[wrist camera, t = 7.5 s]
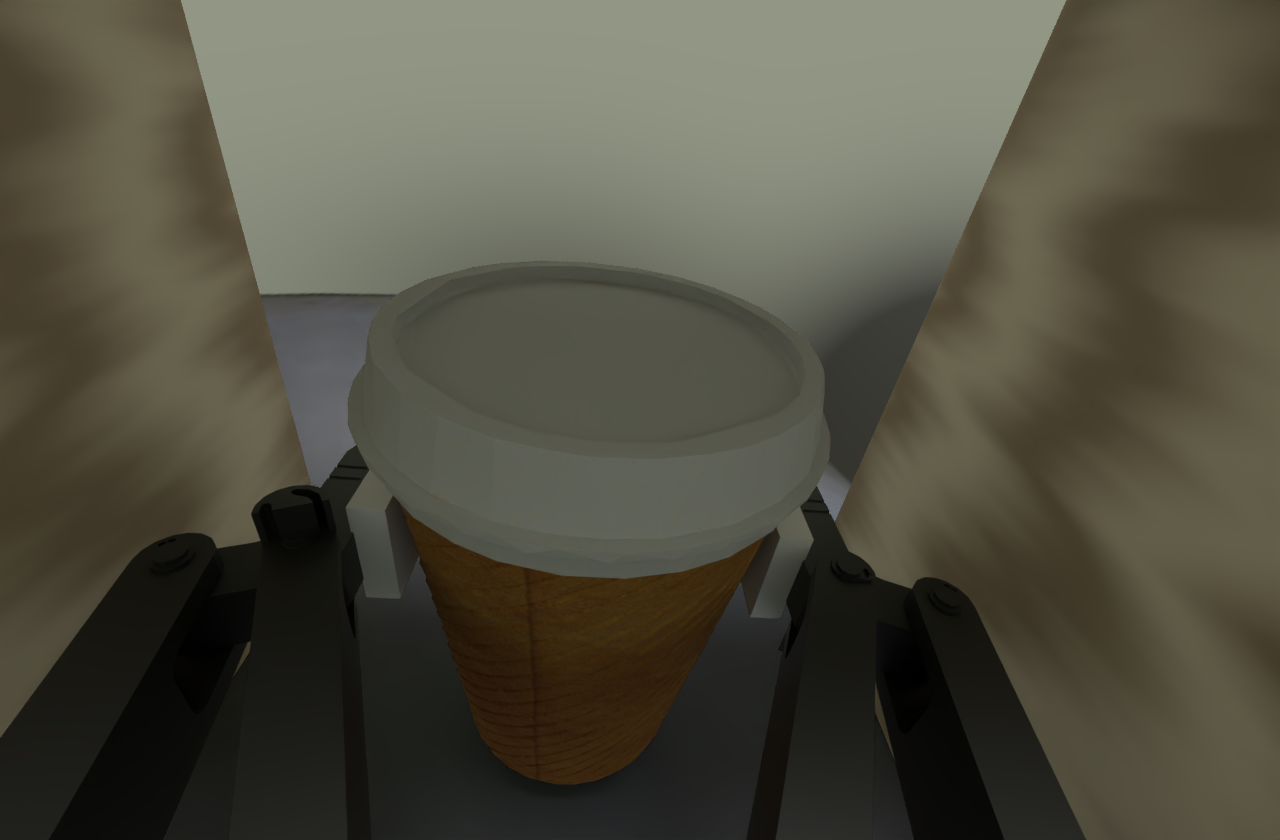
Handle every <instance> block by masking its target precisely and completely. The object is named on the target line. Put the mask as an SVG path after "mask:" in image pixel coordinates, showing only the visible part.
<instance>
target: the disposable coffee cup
mask: <svg viewBox="0 0 1280 840" xmlns="http://www.w3.org/2000/svg"><path fill="white" fill-rule="evenodd" d="M824 391H825V385H824V369H823V367H822V365H821V363H820V361H819V358H818V356H817V354H816V353H815V352H814V350H813V349H812V348H811V347H810V345H809V344H808V343H807V341H806V340H805V339H804V338H803V337H802V336H801V335H799V334H798V333H797V332H796V331H794V330H793V329H792V328H790V327H789V326H788V325H787V324H785V323H784V322H783V321H781V320H780V319H778V318H777V317H775V316H773V315H772V314H770V313H769V312H767V311H765V310H763V309H762V308H760V307H758V306H756V305H753V304H752V303H749V302H747V301H745V300H743V299H741V298H738V297H736V296H733V295H731V294H728V293H726V292H723V291H721V290H718V289H716V288H713V287H709V286H706V285H703V284H700V283H696V282H693V281H690V280H686V279H683V278H679V277H676V276H671V275H666V274H661V273H657V272H651V271H647V270H642V269H637V268H629V267H621V266H613V265H604V264H596V263H585V262H583V263H582V262H556V261H554V262H553V261H533V262H514V263H500V264H493V265H486V266H479V267H472V268H469V269H465V270H461V271H457V272H454V273H450V274H446V275H442V276H438V277H435V278H431V279H427V280H425V281H423V282H421V283H419V284H417V285H415V286H413V287H410V288H408V289H406V290H404V291H402V292H400V293H399V294H398V295H396V296H395V297H394V298H393V299H391V300H390V301H389V302H387V303H386V304H385V305H384V306H382V307H381V309H380V310H379V312H378V313H377V315H376V316H375V318H374V319H373V320H372V322H371V326H370V330H369V334H368V340H367V351H366V361H365V365H364V366H363V367H362V368H361V370H360V371H359V373H358V374H357V376H356V377H355V379H354V381H353V384H352V387H351V390H350V394H349V397H348V425H349V428H350V431H351V434H352V437H353V439H354V441H355V443H356V445H357V447H358V449H359V451H360V453H361V455H362V457H363V459H364V461H365V463H366V465H367V467H368V469H369V470H370V471H371V472H373V473H374V474H375V475H376V476H377V477H378V478H379V479H380V480H381V481H382V482H383V483H384V484H385V486H386V487H387V489H388V490H389V491H390V493H391V494H392V495H393V496H394V497H395V498H396V499H397V500H398V501H399V502H400V504H401V507H402V510H403V513H404V516H405V517H407V518H406V520H405V522H406V524H407V526H408V528H409V530H410V532H411V534H412V536H413V538H414V540H413V544H414V546H415V548H416V551H417V553H418V555H419V557H420V565H421V567H422V569H423V571H424V573H425V575H426V577H427V578H426V582H427V584H428V586H429V589H430V591H431V593H432V600H433V602H434V604H435V606H436V608H437V613H438V616H439V618H440V620H441V623H442V625H443V626H442V628H443V631H444V633H445V635H446V637H447V640H448V646H449V648H450V650H451V653H452V657H453V659H454V662H455V664H456V666H457V671H458V674H459V676H460V678H461V683H462V685H463V688H464V690H465V694H466V697H467V699H468V701H469V706H470V708H471V711H472V717H473V719H474V722H475V724H476V727H477V729H478V731H479V734H480V736H481V738H482V739H483V740H484V741H485V743H486V744H487V745H488V747H489V748H490V749H491V750H492V752H493V753H494V754H495V756H496V757H497V758H499V759H500V760H501V761H502V762H503V763H504V764H506V765H507V766H508V767H509V768H511V769H513V770H515V771H517V772H519V773H520V774H522V775H524V776H526V777H528V778H531V779H536V780H540V781H544V782H549V783H553V784H571V785H575V784H580V783H585V782H591V781H596V780H599V779H601V778H604V777H606V776H608V775H611V774H613V773H615V772H618V771H619V770H621V769H622V768H623V767H625V766H626V765H628V764H629V763H631V762H632V761H634V760H635V759H636V758H637V757H638V756H639V755H640V754H641V752H642V751H643V750H644V749H645V748H646V747H647V746H648V745H649V743H650V742H651V741H652V740H653V738H654V737H655V735H656V733H657V732H658V730H659V728H660V727H661V724H662V722H663V720H664V718H665V716H666V715H667V713H668V711H669V709H670V707H671V705H672V704H673V702H674V700H675V698H676V696H677V695H678V693H679V691H680V689H681V687H682V686H683V684H684V682H685V680H686V678H687V677H688V675H689V673H690V671H691V669H692V668H693V666H694V664H695V662H696V661H697V659H698V657H699V655H700V654H701V652H702V650H703V648H704V646H705V645H706V643H707V641H708V639H709V637H710V635H711V634H712V632H713V630H714V628H715V626H716V625H717V623H718V621H719V619H720V617H721V616H722V614H723V612H724V610H725V608H726V606H727V605H728V603H729V601H730V599H731V598H732V596H733V594H734V592H735V590H736V588H737V587H738V585H739V583H740V581H741V580H742V578H743V576H744V574H745V572H746V570H747V569H748V567H749V565H750V563H751V562H752V559H753V558H754V556H755V554H756V552H757V551H758V549H759V547H760V545H761V544H762V542H763V539H764V538H765V536H766V535H767V534H769V533H771V532H773V531H774V529H775V528H776V527H777V525H778V524H780V523H781V522H782V521H783V520H784V519H785V518H787V517H788V516H789V515H790V514H791V513H793V512H794V511H795V510H796V509H797V508H799V507H800V506H801V505H802V504H803V503H804V502H806V501H807V500H808V498H809V497H810V495H811V494H812V492H813V491H814V489H815V488H816V486H817V484H818V482H819V480H820V479H821V477H822V475H823V473H824V471H825V469H826V467H827V463H828V459H829V455H830V433H829V430H828V426H827V423H826V420H825V417H824V413H823V412H822V411H823V402H824Z"/></svg>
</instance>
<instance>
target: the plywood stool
mask: <svg viewBox="0 0 1280 840" xmlns="http://www.w3.org/2000/svg"><path fill="white" fill-rule="evenodd" d="M297 485H310V486H311V483H310V479H309V476H308V472H307V468H306V464H305V461H304V457H303V453H302V450H301V446H300V442H299V438H298V435H297V431H296V427H295V423H294V420H293V416H292V412H291V409H290V405H289V401H288V397H287V394H286V390H285V386H284V383H283V379H282V375H281V371H280V368H279V364H278V360H277V357H276V353H275V349H274V345H273V342H272V338H271V334H270V331H269V327H268V323H267V319H266V316H265V312H264V308H263V304H262V301H261V297H260V293H259V290H258V286H257V282H256V279H255V275H254V271H253V267H252V264H251V260H250V256H249V253H248V249H247V245H246V242H245V238H244V234H243V230H242V226H241V223H240V219H239V215H238V212H237V208H236V204H235V201H234V197H233V193H232V189H231V186H230V182H229V178H228V174H227V171H226V167H225V163H224V160H223V156H222V152H221V148H220V145H219V141H218V138H217V133H216V130H215V126H214V122H213V118H212V115H211V111H210V107H209V104H208V100H207V96H206V93H205V89H204V85H203V81H202V78H201V74H200V70H199V67H198V63H197V59H196V55H195V52H194V48H193V44H192V41H191V37H190V33H189V30H188V26H187V22H186V18H185V14H184V11H183V7H182V4H181V0H0V738H1V736H2V735H3V733H4V732H5V731H6V729H7V728H8V727H9V725H10V724H11V723H12V721H13V720H14V718H15V717H16V716H17V714H18V713H19V712H20V710H21V709H22V708H23V706H24V705H25V704H26V702H27V701H28V699H29V698H30V697H31V695H32V694H33V693H34V691H35V690H36V689H37V687H38V686H39V685H40V683H41V682H42V680H43V679H44V678H45V676H46V675H47V674H48V672H49V671H50V670H51V668H52V667H53V666H54V664H55V663H56V661H57V660H58V659H59V657H60V656H61V655H62V653H63V652H64V651H65V649H66V648H67V646H68V645H69V644H70V642H71V641H72V640H73V638H74V637H75V636H76V634H77V633H78V632H79V630H80V629H81V627H82V626H83V625H84V623H85V622H86V621H87V619H88V618H89V617H90V615H91V614H92V613H93V611H94V610H95V608H96V607H97V606H98V604H99V603H100V602H101V600H102V599H103V598H104V596H105V595H106V594H107V592H108V591H109V589H110V588H111V587H112V585H113V584H114V583H115V581H116V580H117V579H118V577H119V576H120V574H121V573H122V572H123V570H124V569H125V568H126V566H127V565H128V564H129V562H130V561H131V560H132V559H133V558H134V557H135V556H136V555H137V554H138V553H139V552H140V551H141V550H142V549H144V548H146V547H147V546H149V545H151V544H153V543H154V542H156V541H158V540H161V539H164V538H167V537H169V536H172V535H177V534H183V533H202V534H205V535H207V536H209V537H211V538H212V539H213V541H214V543H215V545H216V547H217V548H222V547H229V546H235V545H241V544H247V543H253V542H257V541H260V538H259V535H258V533H257V530H256V527H255V524H254V522H253V519H252V516H251V512H252V510H253V508H254V506H255V504H257V503H258V502H259V501H260V500H261V499H262V498H263V497H264V496H266V495H268V494H270V493H272V492H274V491H276V490H279V489H282V488H286V487H290V486H297ZM835 524H836V526H837V528H838V530H839V532H840V534H841V536H842V538H843V540H844V543H845V545H846V547H847V549H848V551H849V552H851V553H853V554H855V555H857V556H859V557H861V558H862V559H863V560H864V561H866V562H867V563H868V564H869V565H870V566H871V568H872V569H873V571H874V572H875V575H876V577H878V578H881V579H883V580H886V581H889V582H892V583H895V584H898V585H901V586H905V587H908V588H911V589H912V587H913V586H914V584H915V582H916V581H917V580H918V579H921V578H923V577H933V578H938V579H941V580H944V581H947V582H948V583H950V584H952V585H954V586H955V587H957V588H959V589H960V590H961V591H962V592H963V593H964V594H965V595H966V596H968V597H969V599H970V600H971V602H972V603H973V605H974V606H975V608H976V610H977V612H978V614H979V616H980V618H981V620H982V623H983V625H984V627H985V629H986V631H987V633H988V635H989V637H990V639H991V641H992V643H993V646H994V648H995V650H996V652H997V654H998V656H999V658H1000V660H1001V662H1002V664H1003V666H1004V669H1005V671H1006V673H1007V675H1008V677H1009V679H1010V681H1011V683H1012V685H1013V687H1014V690H1015V692H1016V694H1017V696H1018V698H1019V700H1020V702H1021V704H1022V706H1023V708H1024V710H1025V713H1026V715H1027V717H1028V719H1029V721H1030V723H1031V725H1032V727H1033V729H1034V731H1035V733H1036V736H1037V738H1038V740H1039V742H1040V744H1041V746H1042V748H1043V750H1044V752H1045V754H1046V757H1047V759H1048V761H1049V763H1050V765H1051V767H1052V769H1053V771H1054V773H1055V775H1056V777H1057V780H1058V782H1059V784H1060V786H1061V788H1062V790H1063V792H1064V794H1065V796H1066V798H1067V800H1068V803H1069V805H1070V807H1071V809H1072V811H1073V813H1074V815H1075V817H1076V819H1077V821H1078V823H1079V826H1080V828H1081V830H1082V832H1083V834H1084V836H1085V838H1086V840H1280V0H1066V2H1065V5H1064V7H1063V9H1062V11H1061V14H1060V16H1059V18H1058V20H1057V23H1056V25H1055V27H1054V29H1053V32H1052V34H1051V36H1050V38H1049V41H1048V43H1047V45H1046V47H1045V50H1044V52H1043V54H1042V57H1041V59H1040V61H1039V63H1038V66H1037V68H1036V70H1035V73H1034V75H1033V77H1032V79H1031V81H1030V84H1029V86H1028V88H1027V90H1026V93H1025V95H1024V97H1023V99H1022V102H1021V104H1020V106H1019V108H1018V111H1017V113H1016V115H1015V117H1014V120H1013V122H1012V124H1011V126H1010V129H1009V131H1008V133H1007V135H1006V138H1005V140H1004V142H1003V144H1002V147H1001V149H1000V151H999V153H998V156H997V158H996V160H995V162H994V165H993V167H992V169H991V171H990V174H989V176H988V178H987V180H986V183H985V185H984V187H983V189H982V192H981V194H980V196H979V199H978V201H977V203H976V205H975V208H974V210H973V212H972V214H971V216H970V219H969V221H968V223H967V226H966V228H965V230H964V232H963V235H962V237H961V239H960V241H959V244H958V246H957V248H956V250H955V252H954V255H953V257H952V259H951V262H950V264H949V266H948V268H947V270H946V273H945V275H944V277H943V279H942V282H941V284H940V287H939V288H938V291H937V293H936V295H935V298H934V300H933V302H932V304H931V307H930V309H929V311H928V314H927V316H926V318H925V320H924V322H923V325H922V327H921V329H920V332H919V334H918V336H917V338H916V340H915V343H914V345H913V347H912V350H911V352H910V354H909V356H908V358H907V361H906V363H905V365H904V367H903V370H902V372H901V374H900V376H899V379H898V381H897V383H896V386H895V388H894V390H893V392H892V394H891V397H890V399H889V401H888V403H887V406H886V408H885V410H884V413H883V415H882V417H881V419H880V422H879V424H878V426H877V428H876V430H875V433H874V435H873V437H872V439H871V442H870V444H869V446H868V448H867V451H866V453H865V455H864V458H863V460H862V462H861V464H860V467H859V469H858V471H857V473H856V476H855V478H854V480H853V482H852V484H851V487H850V489H849V491H848V493H847V496H846V498H845V500H844V502H843V505H842V507H841V509H840V511H839V514H838V516H837V518H836V520H835ZM250 644H251V642H248V643H247V646H246V648H245V650H244V653H243V655H242V657H241V660H240V662H239V664H238V666H237V669H236V671H235V673H234V675H235V674H236V672H237V671H238V669H239V668H240V666H241V664H242V663H243V661H244V660H245V658H246V657H247V655H248V654H249V652H250ZM233 677H234V676H233ZM875 713H876V716H877V718H878V721H879V723H880V726H881V728H882V731H883V733H884V736H885V738H886V740H887V743H888V745H889V748H890V750H891V753H892V755H893V751H892V747H891V743H890V739H889V735H888V731H887V727H886V723H885V719H884V715H883V711H882V707H881V703H880V699H879V695H878V690H877V686H876V682H875ZM893 758H894V755H893Z"/></svg>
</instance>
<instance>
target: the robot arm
mask: <svg viewBox="0 0 1280 840" xmlns="http://www.w3.org/2000/svg"><path fill="white" fill-rule="evenodd" d="M251 516H252V519H253V522H254V524H255V527H256V530H257V533H258V535H259V538H260V541H257V542H253V543H247V544H241V545H235V546H229V547H222V548H217V547H216V545H215V543H214V541H213V539H212V538H211V537H209V536H207V535H205V534H202V533H183V534H177V535H172V536H169V537H167V538H164V539H161V540H158V541H156V542H154V543H153V544H151V545H149V546H147V547H146V548H144V549H142V550H141V551H140V552H139V553H138V554H137V555H136V556H135V557H134V558H133V559H132V560H131V561H130V562H129V564H128V565H127V566H126V568H125V569H124V570H123V572H122V573H121V574H120V576H119V577H118V579H117V580H116V581H115V583H114V584H113V585H112V587H111V588H110V589H109V591H108V592H107V594H106V595H105V596H104V598H103V599H102V600H101V602H100V603H99V604H98V606H97V607H96V608H95V610H94V611H93V613H92V614H91V615H90V617H89V618H88V619H87V621H86V622H85V623H84V625H83V626H82V627H81V629H80V630H79V632H78V633H77V634H76V636H75V637H74V638H73V640H72V641H71V642H70V644H69V645H68V646H67V648H66V649H65V651H64V652H63V653H62V655H61V656H60V657H59V659H58V660H57V661H56V663H55V664H54V666H53V667H52V668H51V670H50V671H49V672H48V674H47V675H46V676H45V678H44V679H43V680H42V682H41V683H40V685H39V686H38V687H37V689H36V690H35V691H34V693H33V694H32V695H31V697H30V698H29V699H28V701H27V702H26V704H25V705H24V706H23V708H22V709H21V710H20V712H19V713H18V714H17V716H16V717H15V718H14V720H13V721H12V723H11V724H10V725H9V727H8V728H7V729H6V731H5V732H4V733H3V735H2V736H1V738H0V840H163V838H164V836H165V834H166V831H167V829H168V827H169V824H170V822H171V820H172V817H173V815H174V813H175V810H176V808H177V806H178V803H179V801H180V799H181V796H182V794H183V792H184V789H185V787H186V785H187V783H188V780H189V778H190V776H191V773H192V771H193V769H194V766H195V764H196V762H197V759H198V757H199V755H200V752H201V750H202V748H203V745H204V743H205V741H206V738H207V736H208V734H209V731H210V729H211V727H212V725H213V722H214V720H215V718H216V715H217V713H218V711H219V708H220V706H221V704H222V701H223V699H224V697H225V694H226V692H227V690H228V687H229V685H230V683H231V680H232V678H233V676H234V673H235V671H236V669H237V666H238V664H239V662H240V660H241V657H242V655H243V653H244V650H245V648H246V646H247V643H248V642H251V644H250V653H249V662H248V670H247V679H246V688H245V697H244V706H243V715H242V724H241V732H240V741H239V750H238V759H237V768H236V777H235V786H234V794H233V803H232V812H231V821H230V830H229V839H228V840H372V838H371V822H370V807H369V792H368V776H367V761H366V745H365V730H364V714H363V699H362V684H361V668H360V653H359V637H358V622H357V608H356V604H355V600H354V597H355V595H356V593H357V591H358V589H359V587H360V585H361V583H362V582H363V586H364V590H365V595H366V597H373V598H392V599H401V597H402V594H403V592H404V590H405V587H406V585H407V582H408V580H409V578H410V575H411V573H412V570H413V568H414V566H415V563H416V561H417V558H418V556H419V555H418V553H417V551H416V548H415V546H414V544H413V540H414V538H413V536H412V534H411V532H410V530H409V528H408V526H407V524H406V522H405V520H406V518H407V517H405V516H404V513H403V510H402V507H401V504H400V502H399V501H398V500H397V499H396V498H395V497H394V496H393V495H392V494H391V493H390V491H389V490H388V489H387V487H386V486H385V484H384V483H383V482H382V481H381V480H380V479H379V478H378V477H377V476H376V475H375V474H374V473H373V472H371V471H370V470H369V469H368V467H367V465H366V463H365V461H364V459H363V457H362V455H361V453H360V451H359V449H358V447H357V445H356V446H355V447H353V448H352V449H350V450H349V451H347V452H346V454H345V455H344V457H343V458H342V459H341V461H340V462H339V463H338V466H337V467H336V468H335V469H334V470H333V472H332V473H331V474H330V477H329V479H327V480H326V481H325V483H324V484H323V485H322V487H321V488H319V487H315V486H310V485H297V486H290V487H286V488H282V489H279V490H276V491H274V492H272V493H270V494H268V495H266V496H264V497H263V498H262V499H261V500H260V501H259V502H258V503H257V504H255V506H254V508H253V510H252V512H251ZM741 582H742V586H743V590H744V594H745V598H746V602H747V606H748V611H749V615H750V617H755V618H774V619H780V618H781V615H782V613H783V611H784V608H785V606H786V604H787V606H788V609H789V612H790V615H791V618H792V620H791V622H790V624H789V626H788V628H787V631H786V633H785V635H784V637H783V640H782V642H781V644H780V646H779V649H778V650H781V651H783V652H782V657H781V663H780V668H779V673H778V678H777V683H776V688H775V694H774V699H773V704H772V709H771V714H770V720H769V725H768V730H767V735H766V740H765V746H764V751H763V756H762V761H761V766H760V772H759V777H758V782H757V787H756V792H755V798H754V803H753V808H752V813H751V818H750V823H749V829H748V834H747V839H746V840H873V796H874V736H875V682H876V686H877V690H878V695H879V699H880V703H881V707H882V711H883V715H884V719H885V723H886V727H887V731H888V735H889V739H890V743H891V747H892V751H893V755H894V760H895V764H896V768H897V772H898V776H899V780H900V784H901V788H902V792H903V796H904V800H905V804H906V808H907V812H908V816H909V821H910V825H911V829H912V833H913V837H914V840H1086V838H1085V836H1084V834H1083V832H1082V830H1081V828H1080V826H1079V823H1078V821H1077V819H1076V817H1075V815H1074V813H1073V811H1072V809H1071V807H1070V805H1069V803H1068V800H1067V798H1066V796H1065V794H1064V792H1063V790H1062V788H1061V786H1060V784H1059V782H1058V780H1057V777H1056V775H1055V773H1054V771H1053V769H1052V767H1051V765H1050V763H1049V761H1048V759H1047V757H1046V754H1045V752H1044V750H1043V748H1042V746H1041V744H1040V742H1039V740H1038V738H1037V736H1036V733H1035V731H1034V729H1033V727H1032V725H1031V723H1030V721H1029V719H1028V717H1027V715H1026V713H1025V710H1024V708H1023V706H1022V704H1021V702H1020V700H1019V698H1018V696H1017V694H1016V692H1015V690H1014V687H1013V685H1012V683H1011V681H1010V679H1009V677H1008V675H1007V673H1006V671H1005V669H1004V666H1003V664H1002V662H1001V660H1000V658H999V656H998V654H997V652H996V650H995V648H994V646H993V643H992V641H991V639H990V637H989V635H988V633H987V631H986V629H985V627H984V625H983V623H982V620H981V618H980V616H979V614H978V612H977V610H976V608H975V606H974V605H973V603H972V602H971V600H970V599H969V597H968V596H966V595H965V594H964V593H963V592H962V591H961V590H960V589H959V588H957V587H955V586H954V585H952V584H950V583H948V582H947V581H944V580H941V579H938V578H933V577H923V578H921V579H918V580H917V581H916V582H915V584H914V586H913V587H912V589H911V588H908V587H905V586H901V585H898V584H895V583H892V582H889V581H886V580H883V579H881V578H878V577H876V575H875V572H874V571H873V569H872V568H871V566H870V565H869V564H868V563H867V562H866V561H864V560H863V559H862V558H861V557H859V556H857V555H855V554H853V553H851V552H849V551H848V549H847V547H846V545H845V543H844V540H843V538H842V536H841V534H840V532H839V530H838V528H837V526H836V524H835V522H834V520H833V518H832V516H831V514H829V510H828V508H827V506H826V504H825V503H824V500H823V498H822V496H821V494H820V491H819V489H818V487H817V486H816V488H815V489H814V491H813V492H812V494H811V495H810V497H809V498H808V500H807V501H806V502H804V503H803V504H802V505H801V506H800V507H799V508H797V509H796V510H795V511H794V512H793V513H791V514H790V515H789V516H788V517H787V518H785V519H784V520H783V521H782V522H781V523H780V524H778V525H777V527H776V528H775V529H774V531H773V532H771V533H769V534H767V535H766V536H765V538H764V539H763V542H762V544H761V545H760V547H759V549H758V551H757V552H756V554H755V556H754V558H753V559H752V562H751V563H750V565H749V567H748V569H747V570H746V572H745V574H744V576H743V578H742V580H741Z"/></svg>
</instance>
